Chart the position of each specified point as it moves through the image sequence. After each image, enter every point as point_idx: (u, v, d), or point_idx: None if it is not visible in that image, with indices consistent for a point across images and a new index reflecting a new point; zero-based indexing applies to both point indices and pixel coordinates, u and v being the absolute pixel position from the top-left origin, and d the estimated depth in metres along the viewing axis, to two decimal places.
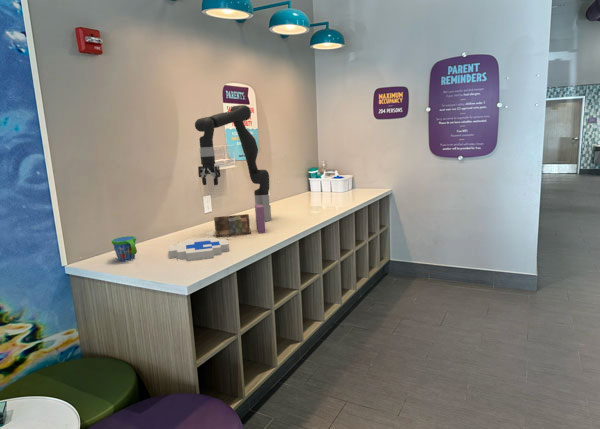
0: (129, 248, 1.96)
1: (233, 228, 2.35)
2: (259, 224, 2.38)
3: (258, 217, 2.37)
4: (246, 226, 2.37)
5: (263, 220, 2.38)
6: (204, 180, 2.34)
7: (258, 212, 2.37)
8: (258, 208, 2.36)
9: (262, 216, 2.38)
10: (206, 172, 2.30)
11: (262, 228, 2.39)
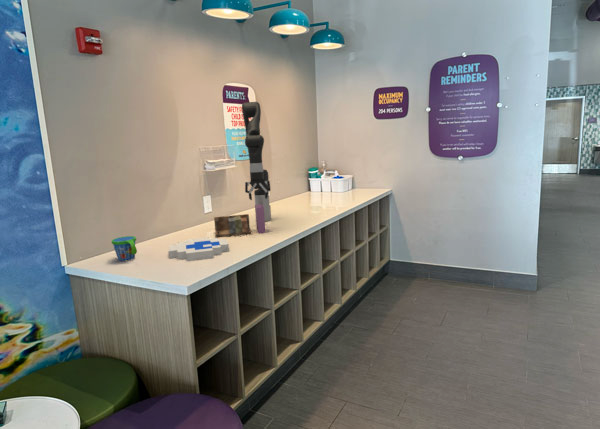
0: (129, 248, 1.96)
1: (233, 228, 2.35)
2: (259, 224, 2.38)
3: (258, 217, 2.37)
4: (246, 226, 2.37)
5: (263, 220, 2.38)
6: None
7: (258, 212, 2.37)
8: (258, 208, 2.36)
9: (262, 216, 2.38)
10: (256, 187, 2.38)
11: (262, 228, 2.39)
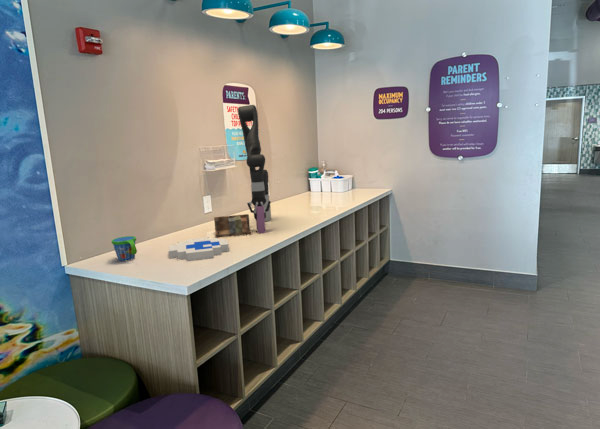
0: (129, 248, 1.96)
1: (233, 228, 2.35)
2: (259, 224, 2.38)
3: (258, 217, 2.37)
4: (246, 226, 2.37)
5: (263, 220, 2.38)
6: (256, 215, 2.42)
7: (258, 212, 2.37)
8: (258, 208, 2.36)
9: (262, 216, 2.38)
10: (258, 205, 2.40)
11: (262, 228, 2.39)
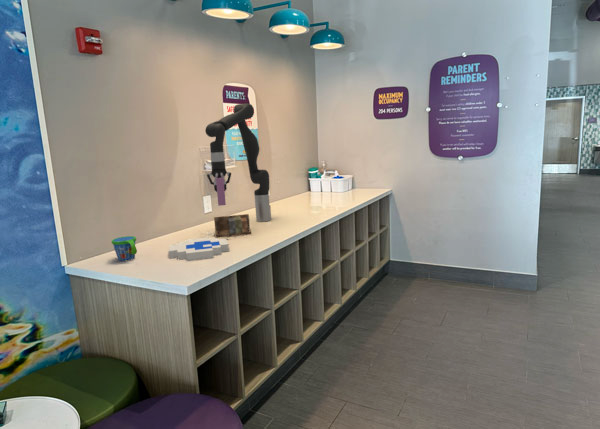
0: (129, 248, 1.96)
1: (233, 228, 2.35)
2: (219, 196, 2.30)
3: (218, 188, 2.30)
4: (246, 226, 2.37)
5: (223, 191, 2.31)
6: (216, 187, 2.34)
7: (218, 183, 2.29)
8: (217, 179, 2.29)
9: (222, 187, 2.30)
10: (219, 176, 2.33)
11: (222, 200, 2.31)
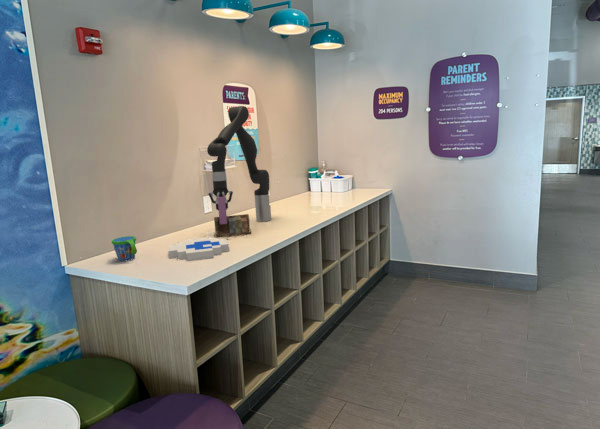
0: (129, 248, 1.96)
1: (233, 228, 2.35)
2: (220, 215, 2.32)
3: (219, 207, 2.32)
4: (246, 226, 2.37)
5: (225, 210, 2.33)
6: None
7: (219, 202, 2.31)
8: (219, 198, 2.31)
9: (223, 206, 2.32)
10: (220, 195, 2.35)
11: (223, 219, 2.33)
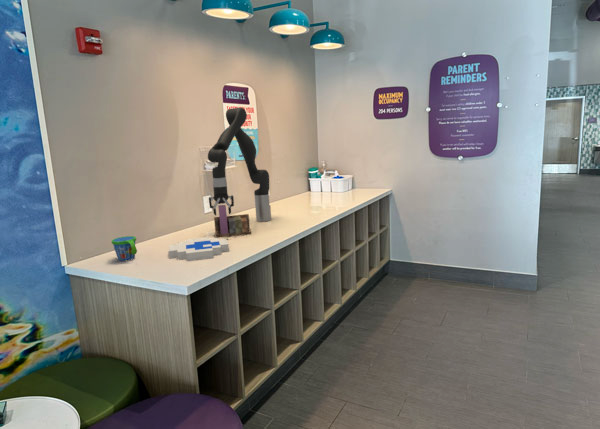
0: (129, 248, 1.96)
1: (233, 228, 2.35)
2: (221, 225, 2.34)
3: (220, 218, 2.33)
4: (246, 226, 2.37)
5: (226, 220, 2.34)
6: (215, 210, 2.36)
7: (220, 213, 2.32)
8: (220, 209, 2.32)
9: (224, 217, 2.33)
10: (220, 202, 2.35)
11: (224, 229, 2.34)
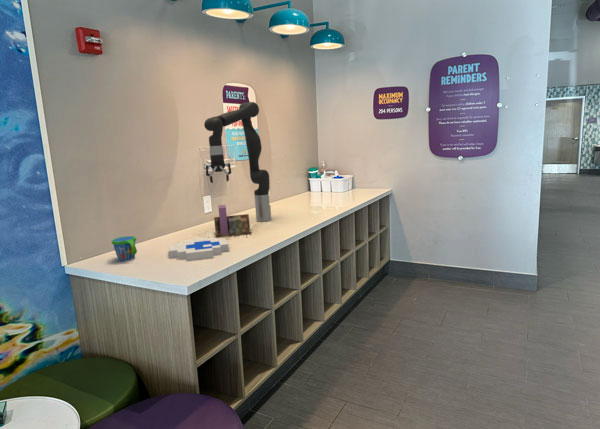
0: (129, 248, 1.96)
1: (233, 228, 2.35)
2: (221, 225, 2.34)
3: (220, 218, 2.33)
4: (246, 226, 2.37)
5: (226, 220, 2.34)
6: None
7: (220, 213, 2.32)
8: (220, 209, 2.32)
9: (224, 217, 2.33)
10: (216, 170, 2.39)
11: (224, 229, 2.34)
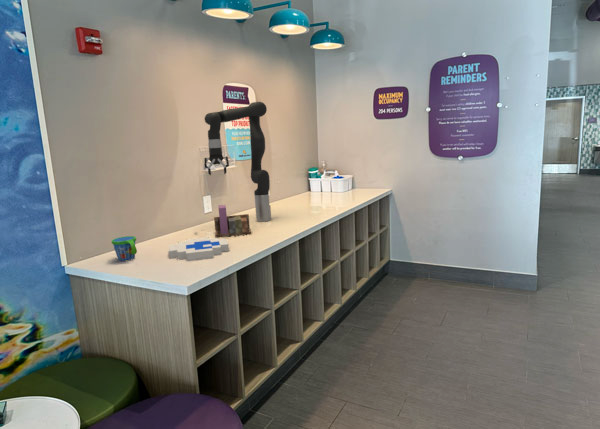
0: (129, 248, 1.96)
1: (233, 228, 2.35)
2: (221, 225, 2.34)
3: (220, 218, 2.33)
4: (246, 226, 2.37)
5: (226, 220, 2.34)
6: (210, 170, 2.49)
7: (220, 213, 2.32)
8: (220, 209, 2.32)
9: (224, 217, 2.33)
10: (215, 162, 2.48)
11: (224, 229, 2.34)
